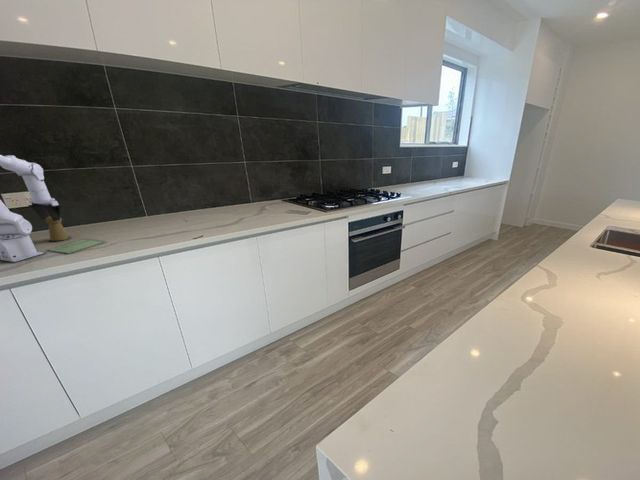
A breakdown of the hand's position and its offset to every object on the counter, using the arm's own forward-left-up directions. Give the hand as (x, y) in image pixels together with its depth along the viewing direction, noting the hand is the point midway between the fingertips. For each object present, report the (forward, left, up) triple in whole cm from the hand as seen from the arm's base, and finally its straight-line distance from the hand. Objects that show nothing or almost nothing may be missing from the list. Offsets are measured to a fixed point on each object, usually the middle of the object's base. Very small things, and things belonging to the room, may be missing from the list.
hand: (51, 219), depth 139 cm
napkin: (-4, -17, -10) cm, 20 cm away
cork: (0, 0, -10) cm, 10 cm away
